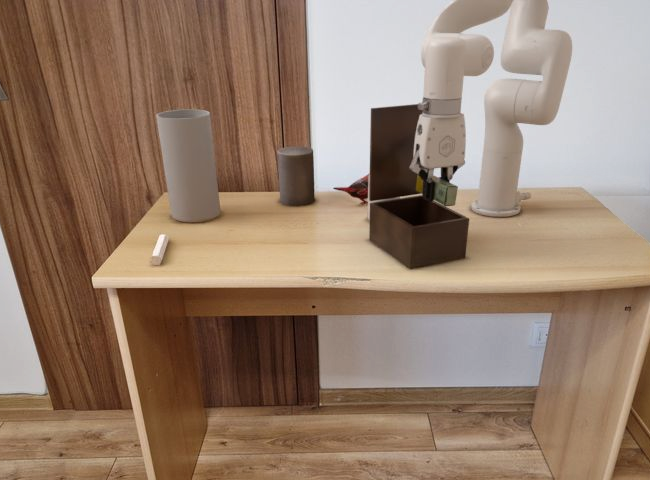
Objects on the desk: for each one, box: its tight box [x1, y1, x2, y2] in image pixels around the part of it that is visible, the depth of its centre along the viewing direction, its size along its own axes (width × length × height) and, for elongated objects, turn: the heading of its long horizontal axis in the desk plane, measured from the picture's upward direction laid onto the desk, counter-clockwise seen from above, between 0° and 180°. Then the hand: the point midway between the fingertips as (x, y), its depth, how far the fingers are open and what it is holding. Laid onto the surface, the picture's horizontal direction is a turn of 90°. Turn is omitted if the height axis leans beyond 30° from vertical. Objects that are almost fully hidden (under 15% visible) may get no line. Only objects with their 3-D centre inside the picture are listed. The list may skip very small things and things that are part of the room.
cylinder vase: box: [155, 109, 221, 224], centre depth 154 cm, size 12×12×25 cm
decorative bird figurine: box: [332, 172, 370, 206], centre depth 164 cm, size 3×18×10 cm, turn 124°
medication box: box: [416, 174, 459, 207], centre depth 131 cm, size 12×3×4 cm, turn 25°
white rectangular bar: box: [149, 233, 169, 266], centre depth 139 cm, size 3×2×16 cm
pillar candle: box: [276, 145, 316, 207], centre depth 167 cm, size 10×10×15 cm
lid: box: [369, 103, 422, 201], centre depth 138 cm, size 20×14×6 cm
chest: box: [368, 194, 470, 270], centre depth 137 cm, size 19×14×9 cm
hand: (435, 198), depth 132 cm, fingers closed on medication box, 2 cm apart
